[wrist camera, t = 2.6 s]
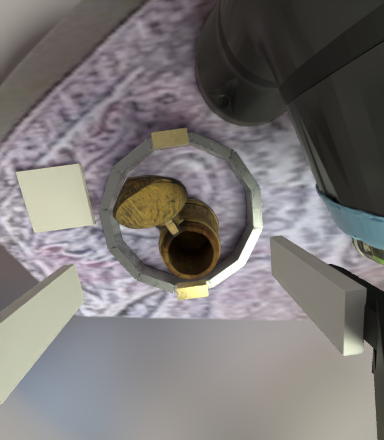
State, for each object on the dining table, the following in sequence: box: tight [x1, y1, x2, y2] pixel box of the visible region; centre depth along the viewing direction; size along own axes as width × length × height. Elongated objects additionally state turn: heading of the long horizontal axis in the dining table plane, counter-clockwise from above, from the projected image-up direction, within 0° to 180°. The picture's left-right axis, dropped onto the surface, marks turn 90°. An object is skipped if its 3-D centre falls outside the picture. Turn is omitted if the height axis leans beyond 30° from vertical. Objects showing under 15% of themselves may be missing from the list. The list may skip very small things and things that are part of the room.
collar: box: [99, 128, 263, 300], centre depth 30 cm, size 23×22×5 cm
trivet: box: [16, 164, 96, 233], centre depth 31 cm, size 9×9×1 cm
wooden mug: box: [112, 175, 220, 279], centre depth 23 cm, size 9×14×18 cm, turn 29°
